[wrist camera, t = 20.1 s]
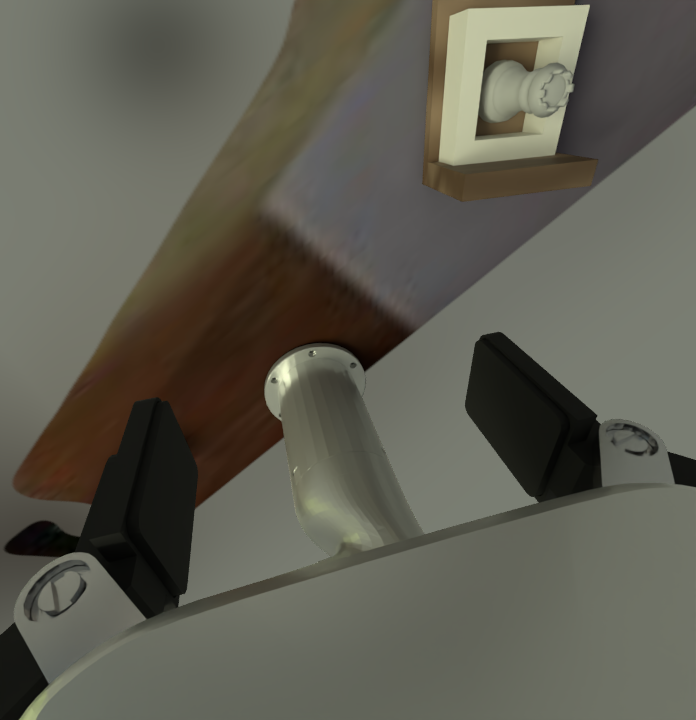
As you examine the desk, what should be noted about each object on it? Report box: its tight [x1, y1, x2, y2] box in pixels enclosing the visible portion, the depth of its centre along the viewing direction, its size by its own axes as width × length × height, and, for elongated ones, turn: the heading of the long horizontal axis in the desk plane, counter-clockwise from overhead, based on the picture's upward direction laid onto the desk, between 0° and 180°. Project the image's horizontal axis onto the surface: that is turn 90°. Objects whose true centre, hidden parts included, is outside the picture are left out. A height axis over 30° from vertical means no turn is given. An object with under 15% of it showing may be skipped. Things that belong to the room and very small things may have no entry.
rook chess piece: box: [478, 60, 575, 123], centre depth 29 cm, size 4×4×8 cm
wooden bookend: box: [422, 0, 598, 202], centre depth 30 cm, size 16×12×8 cm
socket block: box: [439, 5, 590, 166], centre depth 31 cm, size 10×10×3 cm
